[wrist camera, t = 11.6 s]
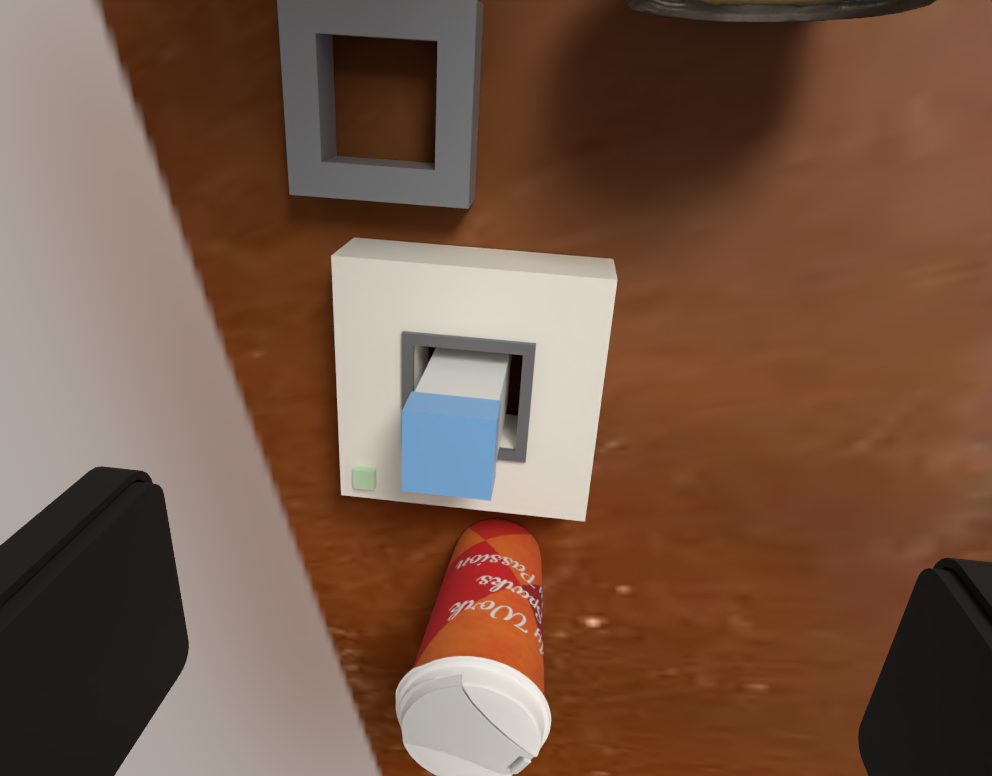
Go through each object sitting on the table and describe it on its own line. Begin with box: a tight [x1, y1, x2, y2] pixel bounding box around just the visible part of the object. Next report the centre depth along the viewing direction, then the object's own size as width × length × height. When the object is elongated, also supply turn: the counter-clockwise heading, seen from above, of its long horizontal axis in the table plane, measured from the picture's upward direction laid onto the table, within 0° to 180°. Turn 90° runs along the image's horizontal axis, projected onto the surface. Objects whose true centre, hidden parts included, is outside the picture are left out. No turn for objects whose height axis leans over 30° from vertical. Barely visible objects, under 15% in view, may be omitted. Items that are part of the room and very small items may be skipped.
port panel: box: [331, 238, 617, 521], centre depth 39 cm, size 14×14×4 cm
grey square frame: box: [277, 0, 484, 209], centre depth 34 cm, size 9×9×2 cm
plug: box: [401, 347, 512, 501], centre depth 36 cm, size 4×4×10 cm
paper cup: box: [396, 519, 551, 776], centre depth 40 cm, size 8×8×14 cm
